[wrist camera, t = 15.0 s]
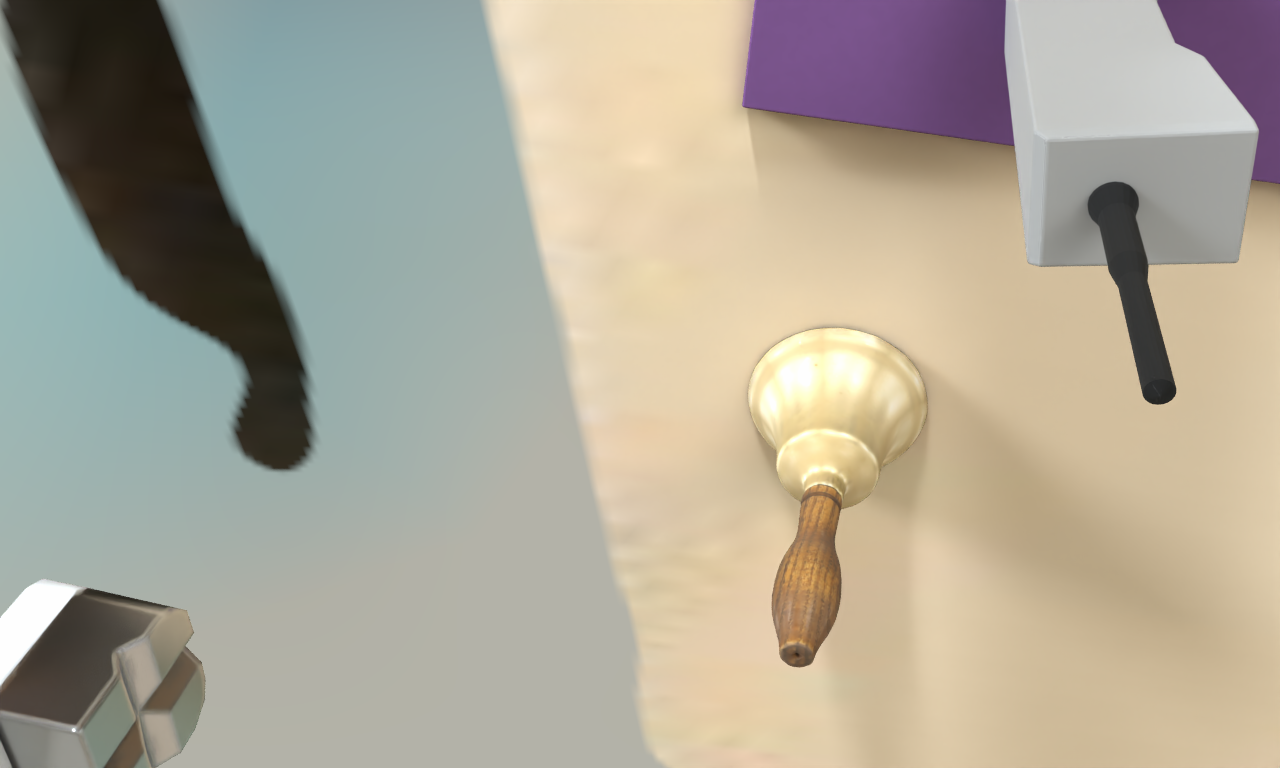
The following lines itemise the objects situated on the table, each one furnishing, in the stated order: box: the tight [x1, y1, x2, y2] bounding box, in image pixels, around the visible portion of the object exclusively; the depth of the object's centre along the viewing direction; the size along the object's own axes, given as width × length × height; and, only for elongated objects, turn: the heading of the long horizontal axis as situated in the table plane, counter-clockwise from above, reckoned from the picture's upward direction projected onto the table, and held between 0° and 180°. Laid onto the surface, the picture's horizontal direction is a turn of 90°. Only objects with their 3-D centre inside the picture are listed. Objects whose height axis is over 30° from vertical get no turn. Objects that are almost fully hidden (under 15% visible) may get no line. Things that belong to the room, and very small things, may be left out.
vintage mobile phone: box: [1004, 0, 1259, 405], centre depth 33 cm, size 4×5×25 cm
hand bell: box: [748, 328, 927, 667], centre depth 49 cm, size 8×8×16 cm
